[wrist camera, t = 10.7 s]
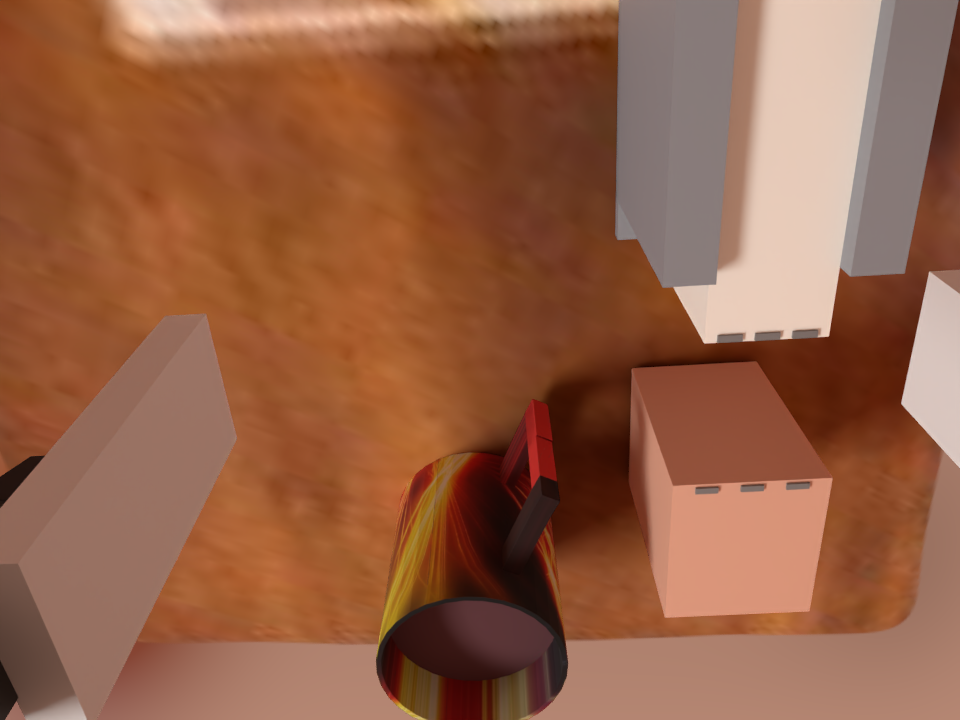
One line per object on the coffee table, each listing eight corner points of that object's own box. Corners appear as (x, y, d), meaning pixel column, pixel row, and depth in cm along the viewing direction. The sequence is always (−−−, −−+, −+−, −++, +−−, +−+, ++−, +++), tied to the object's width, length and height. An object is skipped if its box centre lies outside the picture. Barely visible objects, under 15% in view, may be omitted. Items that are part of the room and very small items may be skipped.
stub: (631, 368, 45) (673, 487, 35) (756, 361, 45) (833, 479, 35) (628, 482, 48) (665, 619, 39) (743, 476, 48) (810, 613, 38)
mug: (545, 387, 46) (564, 521, 35) (553, 568, 52) (570, 727, 42) (380, 397, 46) (349, 532, 36) (408, 575, 53) (388, 735, 42)
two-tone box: (620, -81, 35) (680, -92, 24) (827, -97, 34) (981, -115, 24) (615, 252, 42) (659, 357, 31) (786, 242, 42) (890, 344, 31)
